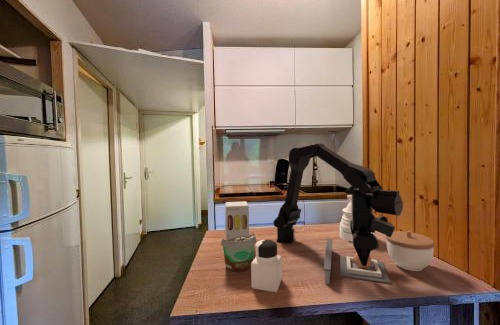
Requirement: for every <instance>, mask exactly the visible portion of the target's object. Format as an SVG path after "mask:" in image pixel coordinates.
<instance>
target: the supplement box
mask: <svg viewBox="0 0 500 325" xmlns="http://www.w3.org/2000/svg"><path fill="white" fill-rule="evenodd" d="M249 208H250V207H249V204H248V202H247V201H246V200H245V201H226V202H225V213H224V214H225V215H224V216H225V217H224V218H225V220H224V222H225V223H224V225H225V232H224V233H225V240H230V239H233V238H236V237H241V236H250V218H249V217H250V210H249Z"/></svg>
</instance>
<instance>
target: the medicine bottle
mask: <svg viewBox="0 0 500 325" xmlns="http://www.w3.org/2000/svg"><path fill="white" fill-rule="evenodd" d="M254 257H255V258H253V261H252V263H251V269H250V273H251V276H250V278H251V281H250V282H251V288H252V289H255V290H260V291H265V292H270V293H271V292H272V293H277V292H278V290H279V287H280V284H281V283H282V282H281V281H282V280H283V276H282V275H283V274H282V273H283V272H282V270H283V269H282V266H283V265H282V255H280V254H278V244H277V242H275V241H274V240H271V239H261V240H259V241H256V243H255V256H254Z"/></svg>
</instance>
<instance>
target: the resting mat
mask: <svg viewBox="0 0 500 325" xmlns="http://www.w3.org/2000/svg"><path fill="white" fill-rule="evenodd" d="M339 263H340V264H339V268H340V269H339V270H340V272H339V275H340V277H343V278H350V279H356V280H361V281H362V280H363V281H369V282H375V283H376V282H377V283H381V284H388V285H391V284H392V282H391V279H390V276H389V275H388V271H387V269H386V267H385V264H384V262H383V261H379V260H377V259H372V258H371V265H370V266H369V267H368V268H366V269H362V268H359V267H358V266H357V265H356V264H355V262H354V256H347V255H346V256H340V257H339Z"/></svg>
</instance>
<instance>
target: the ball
mask: <svg viewBox="0 0 500 325" xmlns="http://www.w3.org/2000/svg"><path fill="white" fill-rule="evenodd" d="M353 257H354V262H355V264H356V265H357V266H358V267H359V268H362V269H366V268H368V267H369V266H370V265H371V259H372V258H371V256H370V255H369V258H368V262H367V265H366V266H362V264H361V262H360V259H359V257H358V255H357V252H356V253H354V255H353Z"/></svg>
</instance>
